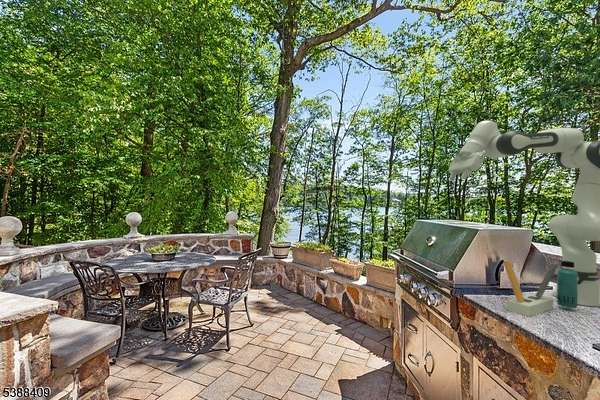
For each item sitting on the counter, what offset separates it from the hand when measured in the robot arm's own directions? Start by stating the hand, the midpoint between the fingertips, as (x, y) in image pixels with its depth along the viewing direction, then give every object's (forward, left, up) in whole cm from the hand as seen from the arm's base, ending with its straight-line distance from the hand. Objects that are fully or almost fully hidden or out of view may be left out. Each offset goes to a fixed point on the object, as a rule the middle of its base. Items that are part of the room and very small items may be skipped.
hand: (456, 179), depth 130 cm
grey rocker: (-24, +22, -50) cm, 60 cm away
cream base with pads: (-17, +22, -54) cm, 61 cm away
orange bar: (-10, +22, -50) cm, 56 cm away
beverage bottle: (-31, +29, -55) cm, 69 cm away
